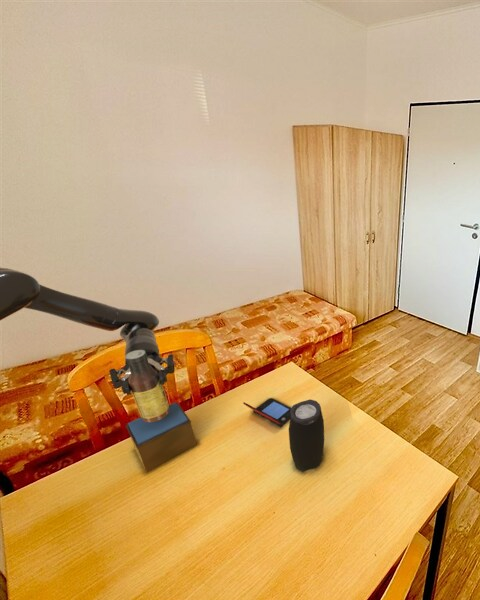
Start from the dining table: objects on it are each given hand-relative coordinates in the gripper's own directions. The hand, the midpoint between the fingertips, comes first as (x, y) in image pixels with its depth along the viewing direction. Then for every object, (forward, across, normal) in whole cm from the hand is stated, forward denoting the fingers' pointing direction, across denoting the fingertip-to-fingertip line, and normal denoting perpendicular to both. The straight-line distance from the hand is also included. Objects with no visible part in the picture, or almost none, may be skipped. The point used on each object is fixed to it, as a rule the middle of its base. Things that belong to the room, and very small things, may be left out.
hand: (145, 386), depth 79 cm
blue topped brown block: (-2, 0, +24) cm, 24 cm away
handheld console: (+2, +28, +24) cm, 37 cm away
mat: (-2, 0, +14) cm, 14 cm away
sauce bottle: (-2, 0, +12) cm, 12 cm away
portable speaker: (+24, +32, +24) cm, 46 cm away
